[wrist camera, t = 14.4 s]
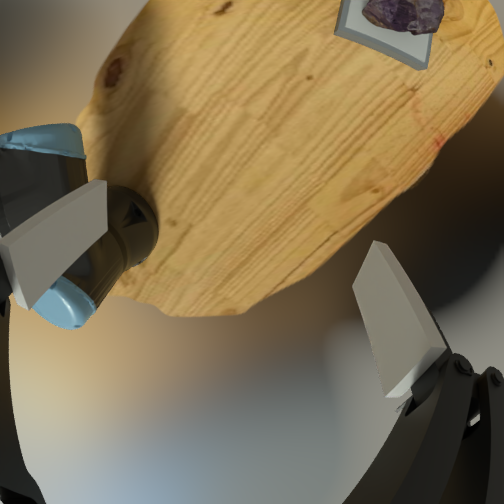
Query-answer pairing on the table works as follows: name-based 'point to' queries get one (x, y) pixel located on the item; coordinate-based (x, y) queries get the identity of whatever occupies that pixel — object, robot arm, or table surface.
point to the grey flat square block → (382, 36)
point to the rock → (405, 15)
